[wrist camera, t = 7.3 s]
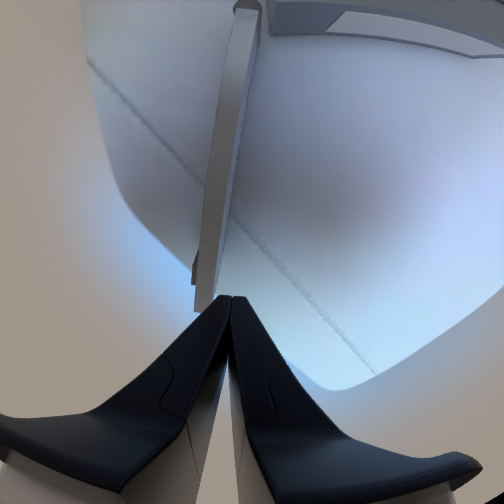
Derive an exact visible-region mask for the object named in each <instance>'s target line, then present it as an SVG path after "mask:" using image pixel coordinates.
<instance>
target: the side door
mask: <svg viewBox="0 0 504 504" xmlns="http://www.w3.org/2000/svg"><path fill="white" fill-rule="evenodd" d="M233 12H234V21H233V25H232V30H231V35H230V40H229V45H228V50H227V55H226V61H225V66H224V71H223V77H222V83H221V88H220V94H219V100H218V106H217V112H216V119H215V125H214V132H213V139H212V145H211V152H210V160H209V167H208V175H207V182H206V190H205V199H204V207H203V216H202V225H201V234H200V244H199V249H198V252H197V254H196V257H195V260H194V263H193V266H192V279H191V285H196V289H195V301H194V312H199V313H202V312H203V311H204V310H205V309H206V308H207V307H208V306H209V305H210V304H211V303H212V302H213V299H214V294H215V289H216V284H217V280H218V275H219V270H220V265H221V260H222V256H223V249H224V242H225V236H226V229H227V222H228V215H229V209H230V202H231V195H232V189H233V183H234V176H235V170H236V164H237V158H238V152H239V146H240V140H241V134H242V128H243V122H244V117H245V111H246V105H247V100H248V94H249V89H250V83H251V78H252V72H253V67H254V62H255V57H256V51H257V47H258V46H259V45H260V36H261V17H262V7H261V5H260V3H259V2H258V1H257V0H239V1H237V2H236V3H235V5H234V7H233Z"/></svg>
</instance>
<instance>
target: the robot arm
mask: <svg viewBox="0 0 504 504" xmlns="http://www.w3.org/2000/svg"><path fill="white" fill-rule="evenodd" d="M227 362H228V373H229V388H230V403H231V416H232V430H233V443H234V454H235V466H236V477H237V485H238V498H239V504H456V501H455V498H454V494H453V491H455V490H456V489H458V488H459V487H461V486H463V485H464V484H465V483H467V482H468V481H470V480H471V479H473V478H474V477H475V476H476V475H478V474H479V473H480V472H481V471H482V469H483V467H482V466H481V464H480V463H479V462H478V461H477V460H475V459H474V458H473V457H470V456H468V455H465V454H463V453H460V452H450V453H446V454H443V455H440V456H436V457H432V458H414V457H409V456H405V455H402V454H398V453H395V452H391V451H388V450H385V449H382V448H379V447H375V446H372V445H370V444H367V443H364V442H361V441H358V440H355V439H353V438H351V437H349V436H348V435H346V434H345V433H344V432H343V431H341V430H340V429H339V428H338V427H337V426H336V425H335V424H334V423H333V421H332V420H331V419H330V418H329V417H328V416H327V415H326V414H325V413H324V411H323V410H322V409H321V408H320V407H319V406H318V405H317V403H316V402H315V401H314V400H313V399H312V398H311V396H310V395H309V394H308V393H307V392H306V390H305V389H304V388H303V387H302V386H301V384H300V383H299V381H298V380H297V378H296V377H295V375H294V374H293V373H292V371H291V369H290V368H289V366H288V365H287V364H286V361H285V360H284V358H283V357H282V355H281V353H280V352H279V350H278V349H277V347H276V345H275V344H274V342H273V341H272V339H271V337H270V336H269V334H268V332H267V331H266V329H265V328H264V326H263V324H262V323H261V321H260V319H259V318H258V316H257V314H256V313H255V311H254V309H253V308H252V306H251V305H250V303H249V301H248V300H247V298H246V297H244V296H233V298H232V296H230V295H219V296H217V298H216V299H215V300H214V301H213V302H212V303H211V304H210V305H209V306H208V307H207V308H206V309H205V310H204V311H203V312H202V313H201V314H200V315H199V316H198V317H197V318H196V319H195V320H194V321H193V322H192V323H191V324H190V325H189V326H188V327H187V328H186V329H185V330H184V331H183V333H181V335H180V336H179V337H178V338H177V339H176V340H175V341H174V342H173V343H172V344H171V345H170V346H169V347H168V348H167V349H166V350H165V351H164V352H163V354H161V355H160V356H159V357H158V358H157V359H156V360H155V361H154V362H153V363H152V364H151V365H150V366H149V367H148V368H147V369H146V370H144V371H143V372H142V373H141V374H140V375H138V376H137V377H136V378H135V379H134V380H133V381H131V382H130V383H129V384H127V385H126V386H125V387H123V388H122V389H121V390H120V391H118V392H117V393H116V394H114V395H113V396H112V397H110V398H109V399H108V400H106V401H105V402H104V403H102V404H101V405H100V406H98V407H97V408H95V409H93V410H91V411H88V412H85V413H81V414H74V415H64V416H54V417H42V418H13V417H9V416H5V415H2V414H0V460H1V461H2V462H4V463H3V465H2V468H1V470H0V504H195V503H196V499H197V494H198V490H199V486H200V481H201V477H202V472H203V468H204V463H205V459H206V455H207V451H208V446H209V442H210V438H211V433H212V429H213V424H214V420H215V416H216V411H217V407H218V402H219V398H220V394H221V389H222V385H223V381H224V376H225V372H226V367H227ZM485 504H504V492H503V493H502V494H500V495H498V496H497V497H495V498H493V499H492V500H490V501H488V502H486V503H485Z"/></svg>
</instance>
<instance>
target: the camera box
mask: <svg viewBox="0 0 504 504" xmlns="http://www.w3.org/2000/svg"><path fill="white" fill-rule="evenodd" d="M266 6H267V14H268V21H269V29H270V36H280V35H336V36H352V37H364V38H374V39H382V40H390V41H397V42H403V43H409V44H415V45H420V46H425V47H430V48H434V49H439V50H443V51H447V52H451V53H455V54H459V55H462V56H466V57H469V58H472V59H480V58H504V0H266Z"/></svg>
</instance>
